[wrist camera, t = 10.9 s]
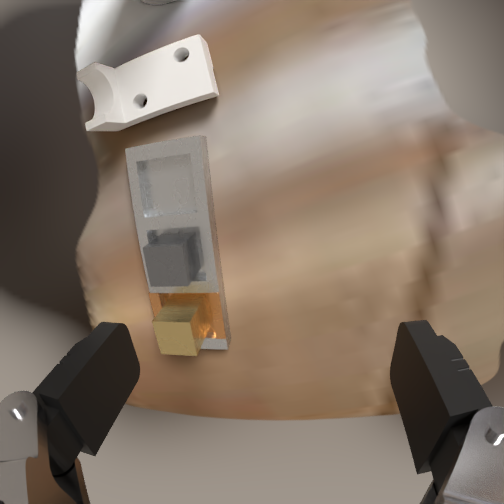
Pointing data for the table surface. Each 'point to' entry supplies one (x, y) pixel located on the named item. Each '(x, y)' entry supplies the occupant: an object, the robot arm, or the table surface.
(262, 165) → the table surface
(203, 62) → the bracket
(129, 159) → the grey long flat tray
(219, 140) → the table surface
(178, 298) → the yellow gold block
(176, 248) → the brushed steel cube
